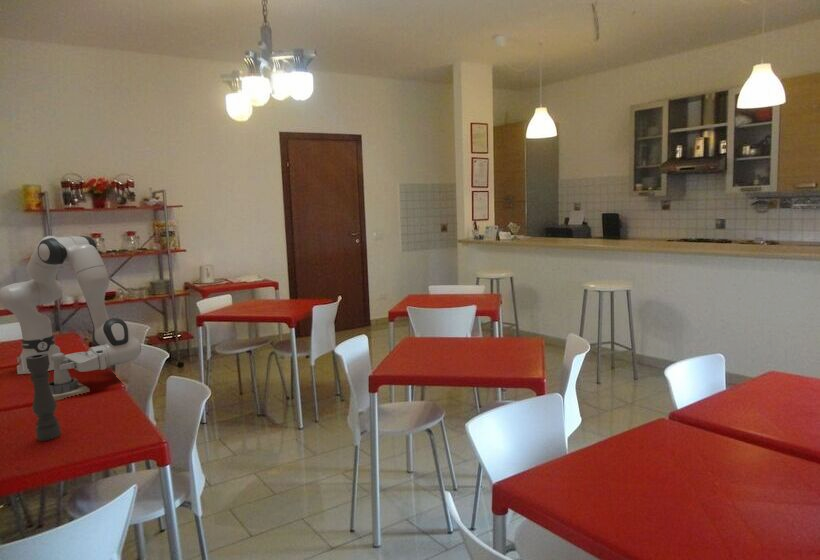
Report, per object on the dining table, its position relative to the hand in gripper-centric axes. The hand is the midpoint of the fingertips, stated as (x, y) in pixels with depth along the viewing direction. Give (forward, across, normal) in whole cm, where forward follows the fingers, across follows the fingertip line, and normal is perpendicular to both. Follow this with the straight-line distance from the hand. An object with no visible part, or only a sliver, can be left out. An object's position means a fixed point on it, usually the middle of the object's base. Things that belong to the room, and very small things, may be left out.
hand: (57, 366), depth 221 cm
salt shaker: (-1, 0, +8) cm, 9 cm away
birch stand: (-1, 0, +11) cm, 11 cm away
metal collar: (-1, 0, +9) cm, 9 cm away
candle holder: (+15, +45, +11) cm, 49 cm away
